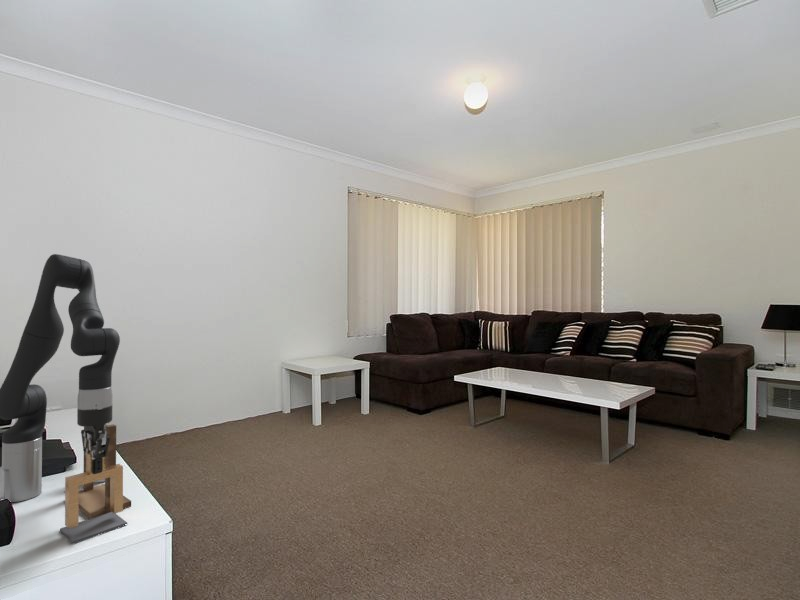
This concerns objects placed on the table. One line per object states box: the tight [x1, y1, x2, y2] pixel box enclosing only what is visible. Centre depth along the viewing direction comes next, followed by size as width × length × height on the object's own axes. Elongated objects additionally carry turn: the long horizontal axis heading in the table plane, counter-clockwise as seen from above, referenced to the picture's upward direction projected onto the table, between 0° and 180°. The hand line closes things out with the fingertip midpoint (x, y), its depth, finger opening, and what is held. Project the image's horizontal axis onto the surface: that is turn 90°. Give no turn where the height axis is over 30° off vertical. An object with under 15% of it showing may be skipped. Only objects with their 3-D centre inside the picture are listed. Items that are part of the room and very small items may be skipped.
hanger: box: [64, 451, 124, 529], centre depth 115 cm, size 12×3×17 cm, turn 142°
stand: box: [79, 423, 132, 519], centre depth 130 cm, size 10×20×24 cm, turn 51°
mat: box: [59, 512, 128, 545], centre depth 115 cm, size 12×10×1 cm
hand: (94, 471), depth 115 cm, fingers closed on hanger, 3 cm apart
